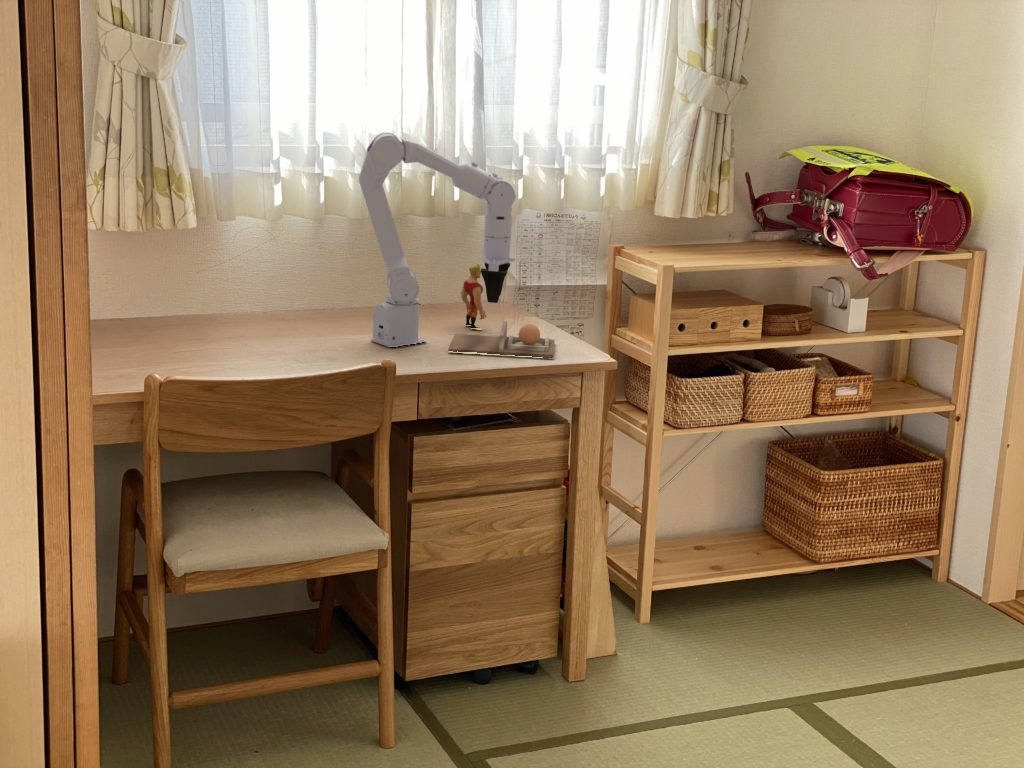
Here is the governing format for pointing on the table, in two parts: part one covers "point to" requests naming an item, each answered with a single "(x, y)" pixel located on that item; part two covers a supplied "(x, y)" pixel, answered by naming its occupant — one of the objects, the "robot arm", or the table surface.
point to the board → (502, 345)
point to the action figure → (473, 296)
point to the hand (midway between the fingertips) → (494, 298)
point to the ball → (529, 334)
